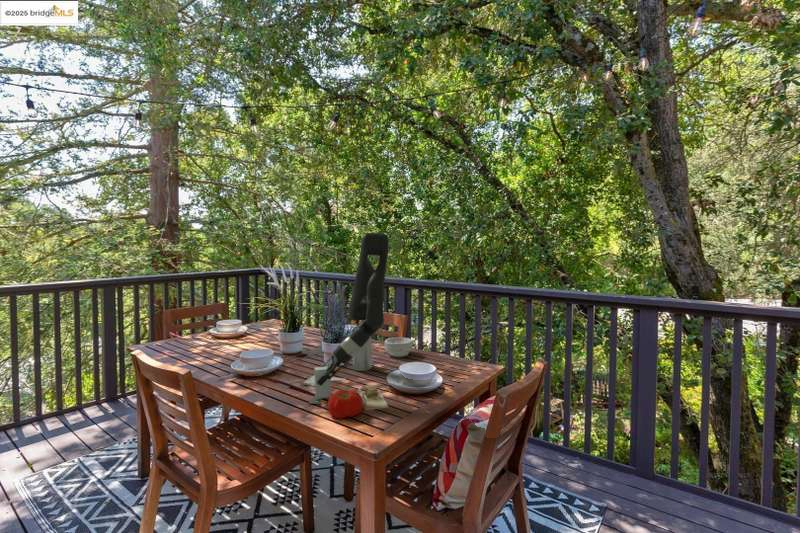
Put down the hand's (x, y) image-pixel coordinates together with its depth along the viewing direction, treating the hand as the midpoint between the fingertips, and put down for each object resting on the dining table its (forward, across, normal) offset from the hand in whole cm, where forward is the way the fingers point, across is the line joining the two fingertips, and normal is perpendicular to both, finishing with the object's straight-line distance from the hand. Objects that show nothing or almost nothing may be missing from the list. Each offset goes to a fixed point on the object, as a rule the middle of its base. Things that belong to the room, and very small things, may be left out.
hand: (318, 380), depth 167 cm
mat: (+4, 0, +6) cm, 8 cm away
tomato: (0, +18, +12) cm, 21 cm away
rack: (-9, +8, +20) cm, 23 cm away
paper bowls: (-26, -50, +37) cm, 68 cm away
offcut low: (-10, +3, +19) cm, 22 cm away
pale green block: (+4, 0, +6) cm, 7 cm away
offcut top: (-11, +3, +18) cm, 21 cm away
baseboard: (0, -14, +12) cm, 18 cm away
